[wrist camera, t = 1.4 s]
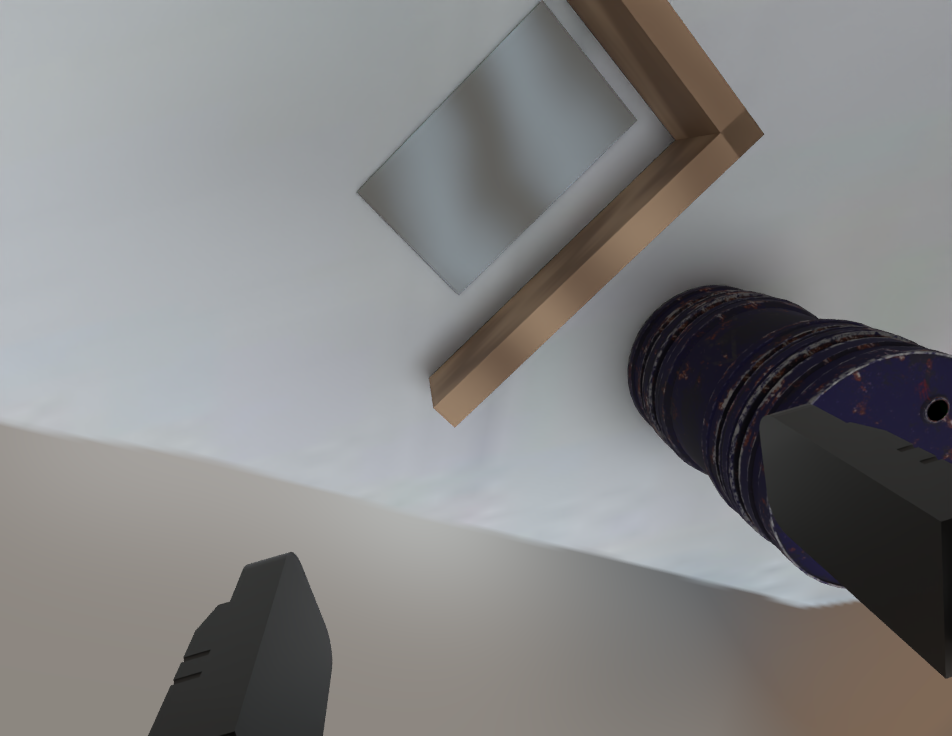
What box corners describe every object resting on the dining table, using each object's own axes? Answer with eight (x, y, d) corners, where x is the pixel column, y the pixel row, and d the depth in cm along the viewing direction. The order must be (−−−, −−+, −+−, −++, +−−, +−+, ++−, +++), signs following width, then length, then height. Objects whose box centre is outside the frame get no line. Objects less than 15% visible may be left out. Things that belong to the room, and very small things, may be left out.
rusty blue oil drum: (729, 465, 40) (913, 624, 25) (595, 406, 37) (716, 544, 23) (815, 324, 38) (1068, 410, 23) (679, 253, 35) (867, 300, 21)
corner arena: (565, -55, 30) (595, -99, 26) (713, 141, 34) (764, 134, 29) (282, 239, 33) (262, 249, 28) (447, 395, 36) (454, 427, 31)
